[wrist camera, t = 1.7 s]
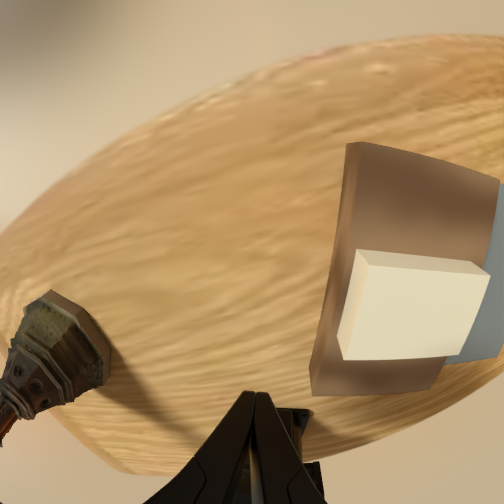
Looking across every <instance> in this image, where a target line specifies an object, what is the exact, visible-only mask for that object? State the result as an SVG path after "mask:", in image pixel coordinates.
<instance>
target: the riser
mask: <svg viewBox="0 0 504 504" xmlns="http://www.w3.org/2000/svg"><path fill="white" fill-rule="evenodd" d="M499 186H500V180H499V179H497V178H494V177H491V176H489V175H486V174H483V173H480V172H477V171H474V170H471V169H468V168H465V167H462V166H459V165H456V164H453V163H449V162H446V161H443V160H439V159H436V158H432V157H428V156H425V155H421V154H417V153H413V152H409V151H405V150H400V149H396V148H391V147H387V146H382V145H377V144H372V143H367V142H355V143H348V144H346V154H345V165H344V175H343V184H342V192H341V200H340V208H339V215H338V223H337V229H336V236H335V242H334V249H333V255H332V261H331V266H330V272H329V278H328V283H327V288H326V293H325V298H324V303H323V308H322V313H321V318H320V322H319V327H318V331H317V336H316V340H315V344H314V349H313V353H312V357H311V361H310V365H309V372H310V381H311V390H312V396H366V395H383V394H395V393H406V392H415V391H423V390H430V388H431V387H432V385H433V383H434V381H435V380H436V378H437V376H438V374H439V372H440V370H441V368H442V367H443V365H444V363H445V361H446V359H447V357H448V356H441V357H429V358H415V359H394V360H343V356H342V352H341V349H340V345H339V342H338V338H337V333H338V329H339V326H340V322H341V318H342V314H343V310H344V305H345V301H346V297H347V293H348V288H349V284H350V279H351V274H352V269H353V264H354V259H355V254H356V249H362V250H372V251H382V252H391V253H401V254H410V255H419V256H428V257H437V258H446V259H455V260H464V261H471V262H472V263H474V264H475V265H477V266H478V267H479V268H481V269H482V267H483V264H484V260H485V257H486V253H487V249H488V245H489V241H490V237H491V232H492V227H493V223H494V217H495V212H496V206H497V200H498V193H499Z"/></svg>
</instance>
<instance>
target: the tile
mask: <svg viewBox="0 0 504 504" xmlns="http://www.w3.org/2000/svg"><path fill="white" fill-rule="evenodd" d="M489 279H490V275H489V274H488V273H486V272H485V271H484V270H482V269H481V268H479V267H478V266H477V265H475V264H474V263H472V262H471V261H464V260H455V259H446V258H437V257H428V256H419V255H410V254H401V253H391V252H382V251H372V250H362V249H356V254H355V259H354V264H353V269H352V274H351V279H350V284H349V288H348V293H347V297H346V301H345V305H344V310H343V314H342V318H341V322H340V326H339V329H338V333H337V338H338V342H339V345H340V349H341V352H342V356H343V360H394V359H415V358H429V357H441V356H451V355H459V353H460V351H461V349H462V347H463V345H464V343H465V341H466V338H467V336H468V334H469V332H470V330H471V327H472V325H473V323H474V320H475V318H476V315H477V313H478V310H479V308H480V305H481V302H482V300H483V297H484V294H485V291H486V288H487V285H488V282H489Z"/></svg>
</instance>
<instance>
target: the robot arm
mask: <svg viewBox="0 0 504 504" xmlns="http://www.w3.org/2000/svg"><path fill="white" fill-rule="evenodd" d="M255 394H256V396H255ZM309 416H310V414H309V410H305V409H281V408H275V406H274V404H273V402H272V399H271V397H270V395H269V394H268V393H267V392H256V393H255V392H254V391H246V390H245V391H243V392H242V393H241V395H240V396H239V397H238V399H237V400H236V401H235V403H234V404H233V406H232V407H231V408H230V410H229V411H228V412H227V414H226V415H225V416H224V418H223V419H222V420H221V422H220V423H219V424H218V426H217V427H216V428H215V430H214V431H213V432H212V433H211V435H210V436H209V437H208V439H207V440H206V441H205V442H204V444H203V445H202V446H201V447H200V449H199V450H198V451H197V452H196V454H195V455H194V457H192V458H191V460H190V461H189V462H188V463H187V464H186V466H185V467H184V468H183V469H182V470H181V471H180V472H179V473H178V474H177V475H176V476H175V477H174V478H173V479H172V480H171V481H170V482H169V483H168V484H166V485H165V486H164V487H163V488H162V489H160V490H159V491H158V492H157V493H156V494H154V495H153V496H152V497H151V498H149V499H148V500H147V501H146V502H144V503H143V504H327V502H326V501H325V499H324V489H323V482H322V476H321V470H320V463H319V461H317V462H313V463H303V462H302V438H301V437H302V435H303V432H304V429H305V427H306V424H307V421H308V418H309ZM0 504H2V503H1V502H0Z"/></svg>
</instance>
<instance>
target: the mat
mask: <svg viewBox="0 0 504 504" xmlns="http://www.w3.org/2000/svg"><path fill="white" fill-rule="evenodd" d="M482 270H484V271H485V272H486V273H488V274H489V275H490V279H489V282H488V285H487V288H486V291H485V294H484V297H483V300H482V302H481V305H480V308H479V310H478V313H477V315H476V318H475V320H474V323H473V325H472V327H471V330H470V332H469V334H468V336H467V338H466V341H465V343H464V345H463V347H462V349H461V351H460V353H459V355H451V356H448V357H447V359H446V361H445V363H444V365H448V364H456V363H463V362H470V361H477V360H483V359H489V358H494V357H497V356H498V354H499V352H500V350H501V348H502V346H503V344H504V185H503V184H500V186H499V193H498V200H497V206H496V212H495V217H494V223H493V227H492V232H491V237H490V241H489V245H488V249H487V253H486V257H485V260H484V264H483V267H482Z"/></svg>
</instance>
